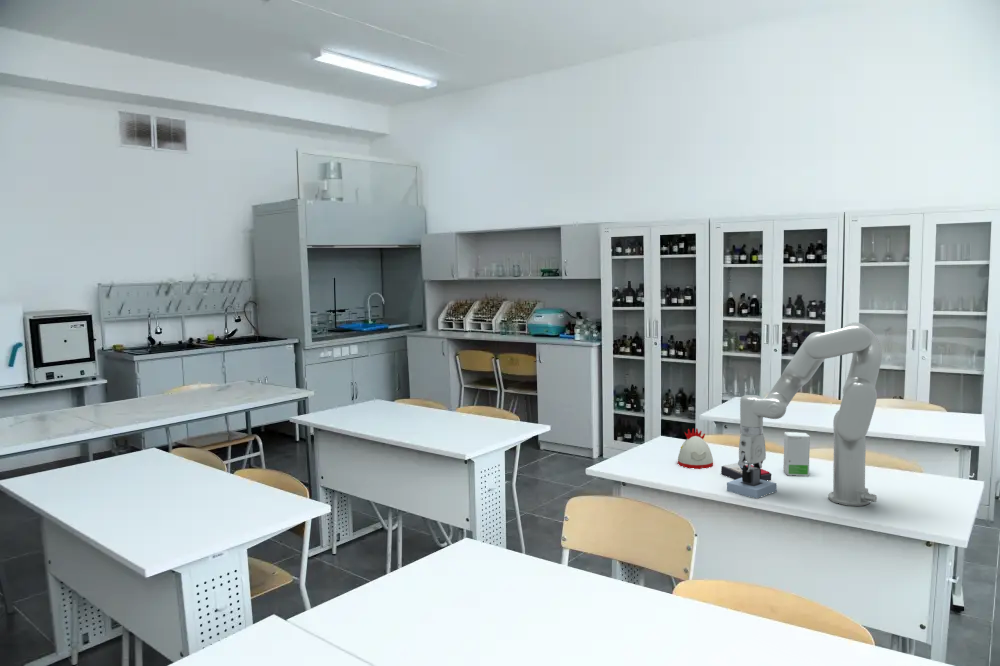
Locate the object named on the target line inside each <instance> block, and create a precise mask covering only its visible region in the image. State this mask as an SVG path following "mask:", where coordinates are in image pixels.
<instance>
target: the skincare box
mask: <svg viewBox="0 0 1000 666" xmlns="http://www.w3.org/2000/svg"><path fill="white" fill-rule="evenodd" d="M783 437H784V438H783V469H782V471H783V472H784V473H785V475H787V476H792V475H796V477H799V476H800V477H809V476H810V453H811V452H810V446H811V443H810V441H811V436H810V435H809V434H808V433H806V432H796V431H795V432H790V431H789V432H788V431H785V432H783Z"/></svg>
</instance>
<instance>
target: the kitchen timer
mask: <svg viewBox="0 0 1000 666" xmlns="http://www.w3.org/2000/svg"><path fill="white" fill-rule="evenodd" d="M698 430H699V429H698V428H696V429H695V428H692V430H690V429H689V428H688V429H687V433H686V432H684V435H685V437H686V440H684V441H683V444H682V445H681V446H680V450H679V453H678V457H677V465H678V464H679V465H680V467H681V466H683V468H685V467H687V468H686V469H690V468H694V469H693V470H703V469H702V468H706V469H710V468H712V467H713V466H714V459H713V454H712V451H711V449H710V447H709V445H708V443H707V442H706V441H705V440H704V438H705V436H706V433H703V434H702V432H703V431H702V430H700V431H698ZM679 465H678V466H679ZM709 467H710V468H709Z"/></svg>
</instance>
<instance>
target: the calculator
mask: <svg viewBox="0 0 1000 666" xmlns="http://www.w3.org/2000/svg"><path fill="white" fill-rule="evenodd" d="M745 465H746V467H747V466H748V464H745ZM751 466H752V467H753V464H751ZM760 469H761V480H765V481H767V480H771V481H772V473H771V472H770V471H768V470H765V469H763V468H760ZM720 473H721V474H722V475H721V474H720V475H721V476H724V477H726V476H727V478H731V479H733V480H736V479H739V478H742V471H741V468H740V466H739V465H738V462H735V463H730V464H729V463H728V464H723V465H722V466H721V470H720Z"/></svg>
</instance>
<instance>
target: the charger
mask: <svg viewBox="0 0 1000 666" xmlns="http://www.w3.org/2000/svg"><path fill="white" fill-rule="evenodd" d="M760 469H761V468H756V467H752V466H751V468H750V472H751V483H746V482H743V484H747V485H751V486H757V485H760Z"/></svg>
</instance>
